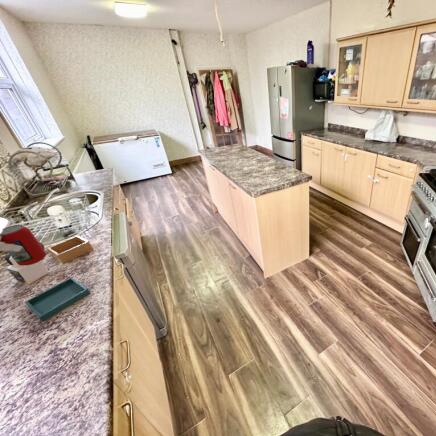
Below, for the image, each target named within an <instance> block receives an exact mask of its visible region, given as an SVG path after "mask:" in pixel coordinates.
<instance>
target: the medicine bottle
mask: <svg viewBox="0 0 436 436" xmlns="http://www.w3.org/2000/svg"><path fill="white" fill-rule="evenodd" d="M4 260H5V261H6V263H7V264H8V265H9V266H6V270H7V271H8V272H9V273H10V274H11V275H12V277H13V278H14V280H15V281H16V282H19V283H22V284H25V285H31V284H32V283H34V282H36V281H37V280H40V279H41V278H43V277H45V276H46V275H48V274H49V273H50V271H49V269H47V267H46V265H45V264H44V263H43V261H42V260H41V261H39V262H37V263H35V264H32V265H27V266H25V265H24V266H21V265H18V264H17V263H16V261H15V260H14V259H13V258H12V257H11V255H10V254H9V253H8V254H6V255H5V257H4Z"/></svg>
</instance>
